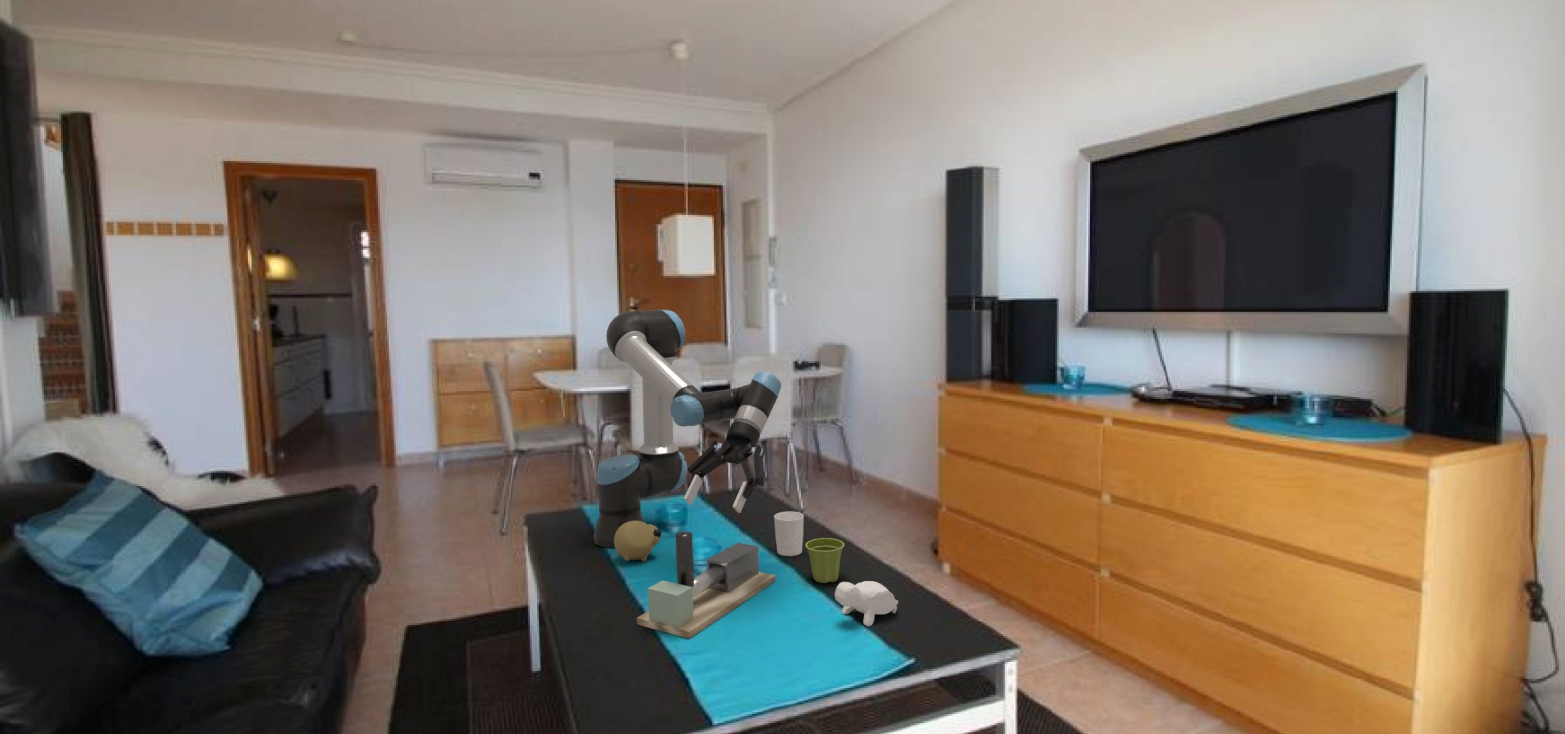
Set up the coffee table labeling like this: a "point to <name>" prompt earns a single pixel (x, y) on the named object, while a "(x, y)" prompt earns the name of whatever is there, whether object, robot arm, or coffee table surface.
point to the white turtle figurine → (865, 599)
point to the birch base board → (711, 606)
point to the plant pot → (825, 558)
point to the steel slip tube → (687, 571)
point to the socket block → (670, 603)
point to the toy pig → (636, 540)
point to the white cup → (789, 533)
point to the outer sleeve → (735, 565)
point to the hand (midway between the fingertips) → (711, 505)
